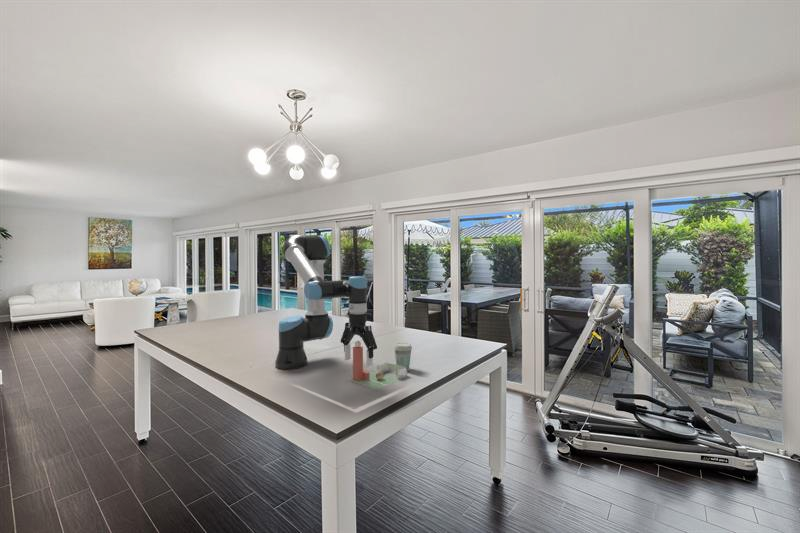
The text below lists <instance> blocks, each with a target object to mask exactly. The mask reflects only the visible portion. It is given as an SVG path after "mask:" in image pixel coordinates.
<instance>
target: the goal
mask: <svg viewBox="0 0 800 533" xmlns="http://www.w3.org/2000/svg"><path fill="white" fill-rule="evenodd" d="M378 371H381V372H383V373H385V372H390V373H393V374H396V375H395V379H398V380H401V379H404V378H405V377H408V371H407V367H404V366H400V365H396V363H392V362H388V361H386V362H383V363H379V364H377V372H378Z"/></svg>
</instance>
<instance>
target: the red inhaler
mask: <svg viewBox="0 0 800 533" xmlns="http://www.w3.org/2000/svg"><path fill="white" fill-rule="evenodd" d="M361 344H362V342H361V341H359V340H357V341H355V343H354V346H353V347H352V377H353V380H356V381H360V380H363V379H364V380H369V371H366V370H364V347H363V346H362V345H361Z"/></svg>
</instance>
